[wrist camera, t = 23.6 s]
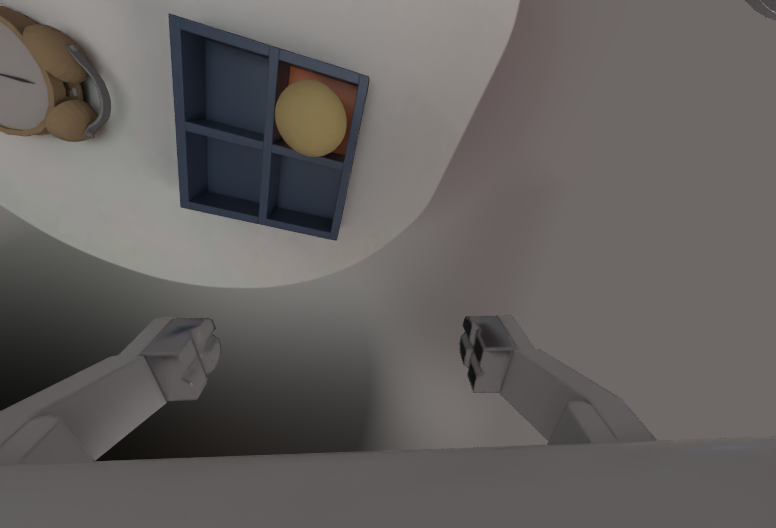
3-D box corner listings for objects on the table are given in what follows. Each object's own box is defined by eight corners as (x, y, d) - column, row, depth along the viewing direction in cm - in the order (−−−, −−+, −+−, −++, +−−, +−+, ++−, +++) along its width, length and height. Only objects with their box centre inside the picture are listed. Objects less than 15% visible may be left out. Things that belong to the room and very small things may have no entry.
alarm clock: (-113, -27, 25) (61, 24, 25) (-32, -5, 29) (116, 38, 29) (-56, 118, 30) (88, 160, 30) (6, 118, 34) (131, 154, 34)
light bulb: (281, 108, 33) (249, 110, 24) (326, 70, 32) (309, 58, 23) (318, 158, 36) (302, 176, 27) (361, 125, 34) (359, 133, 25)
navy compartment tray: (369, 80, 33) (369, 76, 28) (340, 225, 41) (336, 240, 36) (198, 26, 30) (168, 13, 25) (202, 195, 38) (180, 207, 33)
